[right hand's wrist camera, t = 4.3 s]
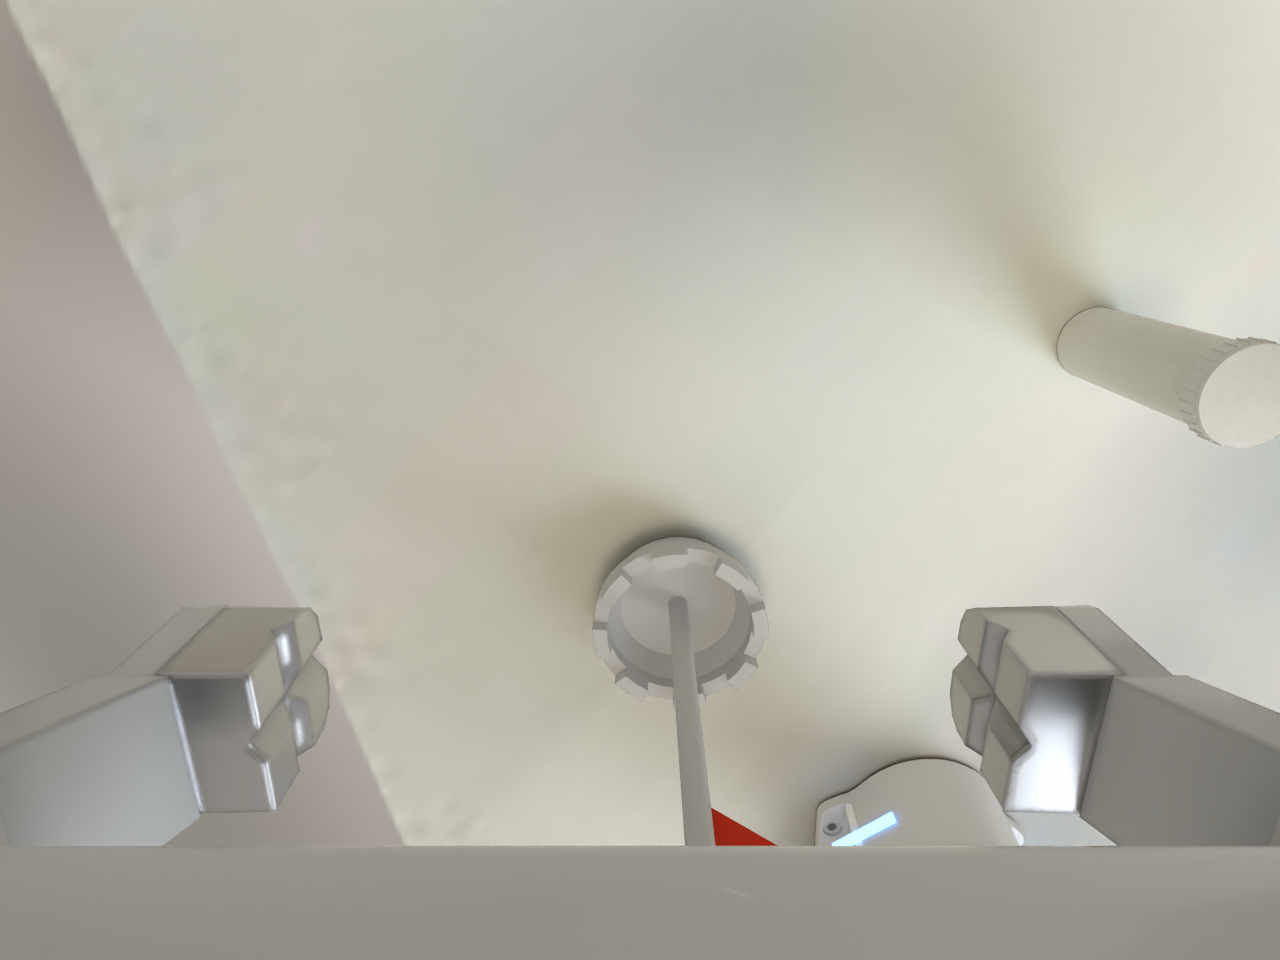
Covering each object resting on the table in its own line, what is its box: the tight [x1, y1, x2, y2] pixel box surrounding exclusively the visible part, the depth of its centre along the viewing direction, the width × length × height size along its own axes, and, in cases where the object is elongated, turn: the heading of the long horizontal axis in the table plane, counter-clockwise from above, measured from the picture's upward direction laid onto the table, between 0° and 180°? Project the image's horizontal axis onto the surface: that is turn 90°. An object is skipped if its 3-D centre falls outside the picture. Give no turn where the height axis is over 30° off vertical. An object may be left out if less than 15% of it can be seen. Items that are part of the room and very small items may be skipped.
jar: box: [1057, 307, 1233, 423], centre depth 49 cm, size 5×5×16 cm
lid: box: [1179, 337, 1280, 448], centre depth 43 cm, size 6×6×2 cm
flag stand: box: [592, 537, 777, 846], centre depth 50 cm, size 13×13×30 cm
